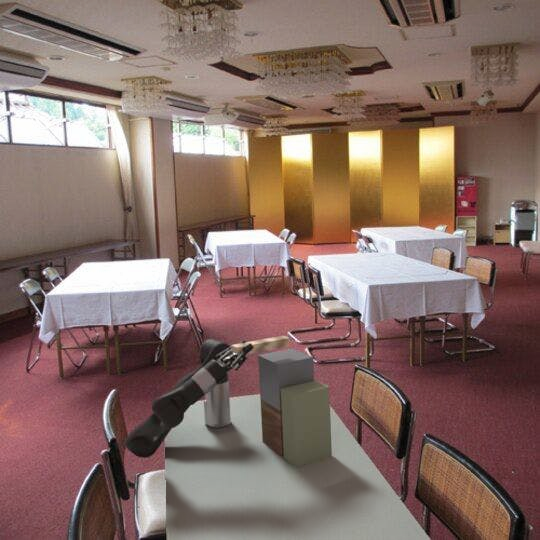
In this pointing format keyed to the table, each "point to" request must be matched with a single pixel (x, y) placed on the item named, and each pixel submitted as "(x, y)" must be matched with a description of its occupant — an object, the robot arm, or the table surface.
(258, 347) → the birch slat
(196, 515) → the table surface
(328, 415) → the olive box
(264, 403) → the walnut crate
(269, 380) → the block
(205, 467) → the table surface
